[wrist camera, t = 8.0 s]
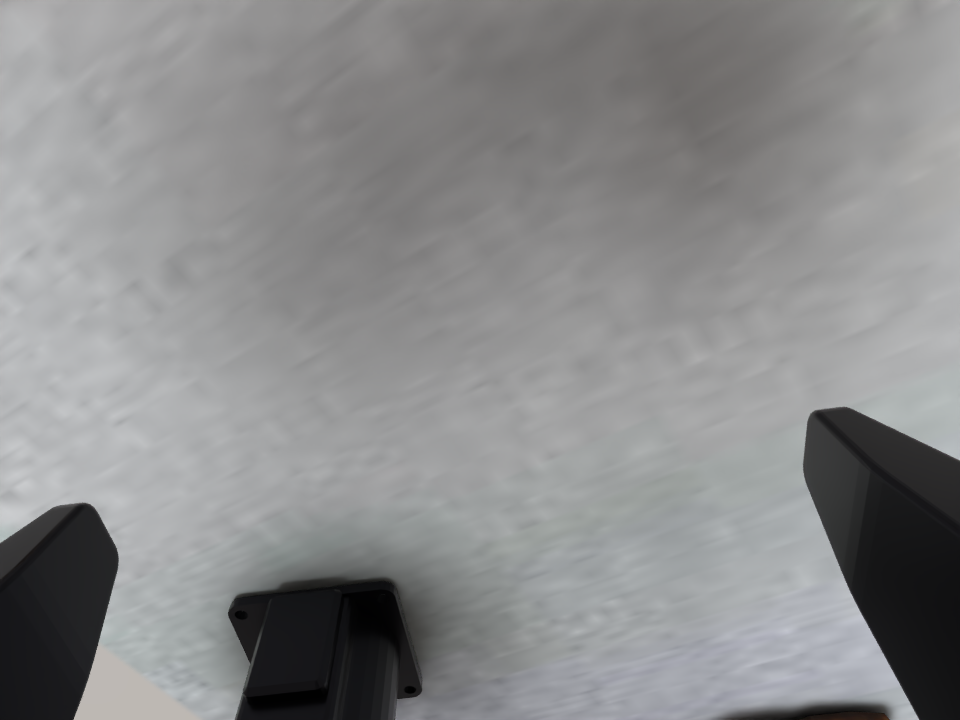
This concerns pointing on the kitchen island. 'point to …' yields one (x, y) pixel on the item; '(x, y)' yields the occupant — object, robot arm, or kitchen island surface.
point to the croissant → (849, 716)
